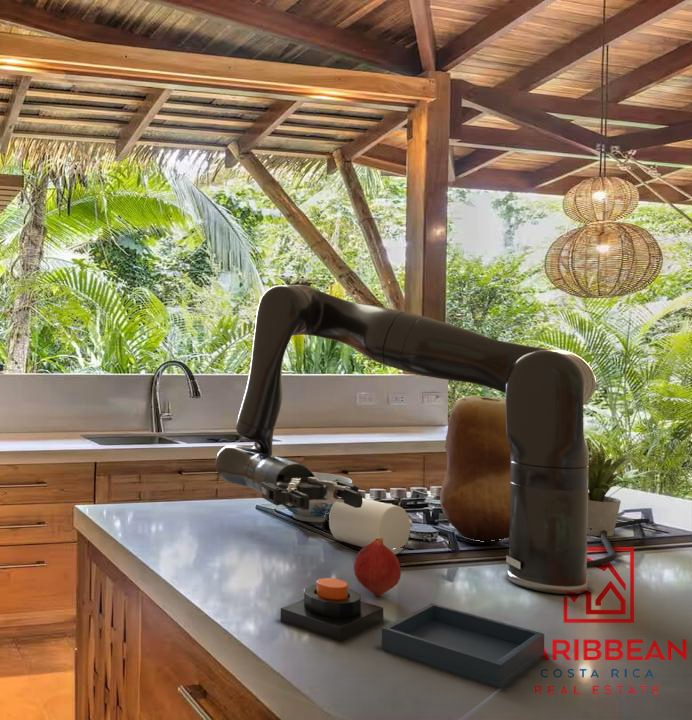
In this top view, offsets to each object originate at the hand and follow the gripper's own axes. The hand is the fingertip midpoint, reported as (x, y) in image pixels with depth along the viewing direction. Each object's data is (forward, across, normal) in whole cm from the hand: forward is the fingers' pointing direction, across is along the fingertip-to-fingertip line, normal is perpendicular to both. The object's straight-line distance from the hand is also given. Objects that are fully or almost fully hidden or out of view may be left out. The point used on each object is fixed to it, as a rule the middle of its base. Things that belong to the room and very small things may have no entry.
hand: (333, 502), depth 110 cm
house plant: (-10, +58, +10) cm, 60 cm away
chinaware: (-31, +13, +11) cm, 35 cm away
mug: (-11, +14, +11) cm, 21 cm away
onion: (+11, 0, +10) cm, 15 cm away
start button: (+18, -11, +7) cm, 22 cm away
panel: (+18, -11, +10) cm, 24 cm away
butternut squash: (-10, +34, +10) cm, 37 cm away
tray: (+29, -1, +10) cm, 31 cm away
